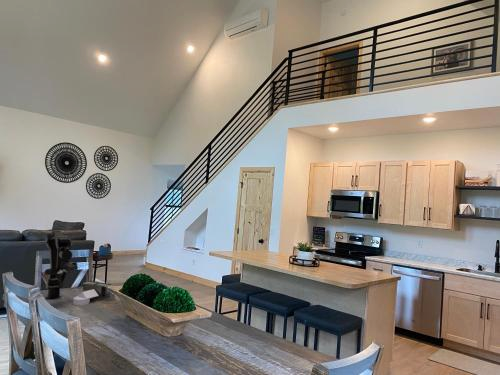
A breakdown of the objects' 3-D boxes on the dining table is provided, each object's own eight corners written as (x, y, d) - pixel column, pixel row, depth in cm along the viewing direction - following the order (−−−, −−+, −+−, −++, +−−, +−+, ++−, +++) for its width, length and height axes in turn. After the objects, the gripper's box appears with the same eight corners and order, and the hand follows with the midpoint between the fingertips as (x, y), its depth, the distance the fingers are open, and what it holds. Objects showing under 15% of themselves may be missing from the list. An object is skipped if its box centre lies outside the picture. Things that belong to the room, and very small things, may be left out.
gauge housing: (82, 296, 233) (83, 283, 233) (87, 294, 237) (88, 281, 237) (110, 300, 225) (110, 287, 225) (114, 299, 228) (115, 285, 229)
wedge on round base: (88, 298, 228) (70, 303, 216) (89, 288, 228) (70, 292, 217) (98, 301, 224) (79, 306, 212) (98, 290, 224) (80, 294, 212)
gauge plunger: (82, 295, 230) (83, 282, 230) (90, 293, 236) (90, 280, 236) (104, 299, 223) (105, 285, 224) (112, 297, 229) (112, 283, 230)
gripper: (58, 261, 204) (57, 289, 203) (85, 256, 221) (83, 282, 221) (44, 259, 208) (43, 286, 207) (71, 255, 225) (70, 280, 225)
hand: (61, 284), depth 215 cm, fingers closed
